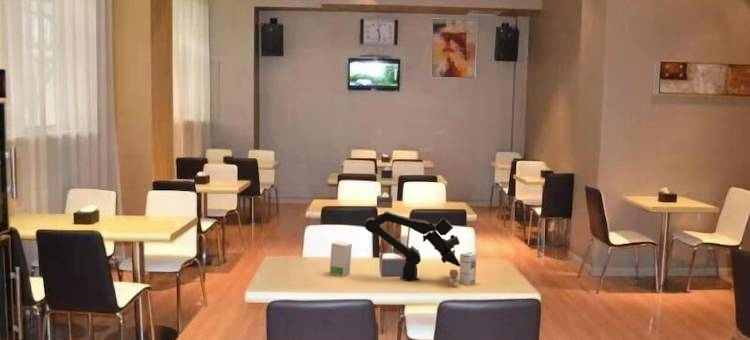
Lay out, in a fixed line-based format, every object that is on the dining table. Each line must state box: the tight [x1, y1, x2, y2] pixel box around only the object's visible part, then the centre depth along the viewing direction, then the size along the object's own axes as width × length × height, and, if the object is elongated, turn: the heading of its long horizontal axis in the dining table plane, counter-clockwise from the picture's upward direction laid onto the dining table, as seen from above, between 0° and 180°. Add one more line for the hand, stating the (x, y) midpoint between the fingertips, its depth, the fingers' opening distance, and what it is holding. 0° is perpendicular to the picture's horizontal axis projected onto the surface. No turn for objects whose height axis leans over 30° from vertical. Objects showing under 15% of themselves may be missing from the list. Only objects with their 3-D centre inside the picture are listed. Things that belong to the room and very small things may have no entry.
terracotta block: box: [449, 269, 459, 278], centre depth 339 cm, size 4×4×4 cm
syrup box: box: [458, 251, 477, 286], centre depth 333 cm, size 6×6×14 cm
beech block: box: [448, 275, 459, 288], centre depth 327 cm, size 4×4×4 cm
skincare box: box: [329, 240, 353, 278], centre depth 339 cm, size 8×7×16 cm
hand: (459, 265), depth 333 cm, fingers closed
